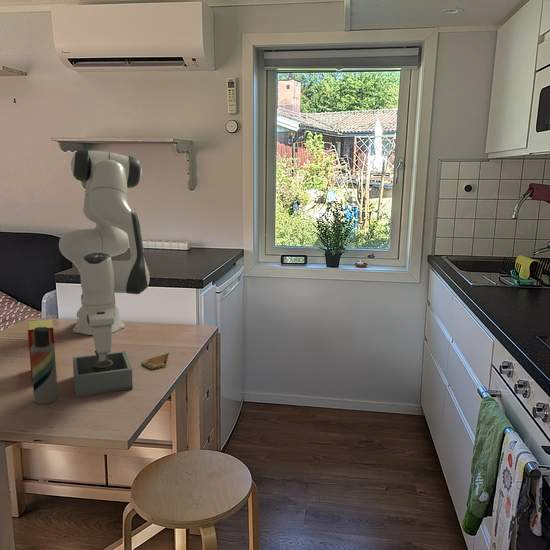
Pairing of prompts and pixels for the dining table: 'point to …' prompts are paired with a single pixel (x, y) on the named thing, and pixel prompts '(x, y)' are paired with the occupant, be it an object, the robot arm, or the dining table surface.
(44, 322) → the baking soda box
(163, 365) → the shard
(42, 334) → the lotion bottle
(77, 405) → the dining table surface
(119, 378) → the box
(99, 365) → the stone chess piece
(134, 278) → the robot arm
